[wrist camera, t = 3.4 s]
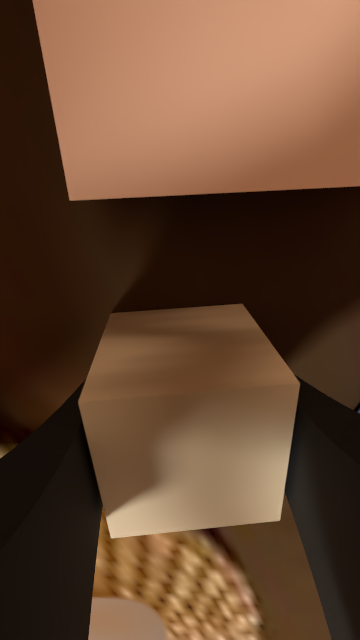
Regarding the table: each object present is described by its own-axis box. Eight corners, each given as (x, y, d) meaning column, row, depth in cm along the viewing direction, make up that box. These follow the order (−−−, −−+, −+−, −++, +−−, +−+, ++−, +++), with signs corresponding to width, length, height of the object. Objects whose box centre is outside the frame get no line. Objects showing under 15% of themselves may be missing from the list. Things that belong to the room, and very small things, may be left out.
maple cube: (126, 416, 13) (111, 538, 9) (110, 313, 11) (77, 402, 6) (238, 406, 13) (279, 520, 9) (242, 303, 11) (299, 383, 7)
